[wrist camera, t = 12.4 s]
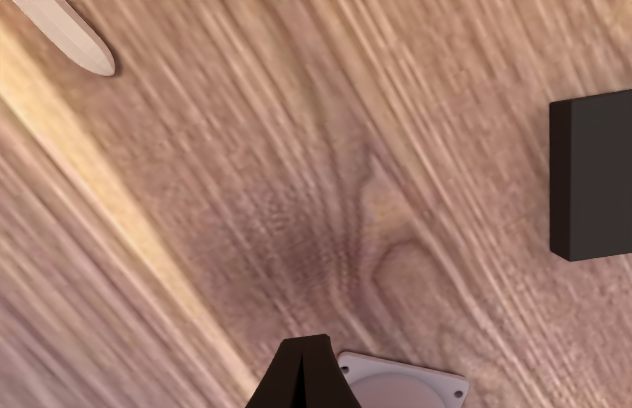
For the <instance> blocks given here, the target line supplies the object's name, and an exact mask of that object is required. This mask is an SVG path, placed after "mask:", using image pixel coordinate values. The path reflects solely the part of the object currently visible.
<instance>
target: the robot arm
mask: <svg viewBox="0 0 632 408" xmlns="http://www.w3.org/2000/svg"><path fill="white" fill-rule="evenodd" d="M343 366H346V367H348V368H346V369H341V367H343ZM468 390H469V383H468V381H467V379H466V378H465V377H463V376H459V375H454V374H450V373H445V372H440V371H436V370H431V369H427V368H422V367H417V366H413V365H408V364H403V363H399V362H394V361H390V360H385V359H380V358H376V357H371V356H366V355H362V354H357V353H353V352H342V353H341V354H340V355H339V356H338V359H337V360H336V358H335V355H334V353H333V350H332V347H331V342H330V337H329V336H328V335H326V334H320V335H312V336H305V337H297V338H290V339H284V340H283V341H282V342H281V344H280V346H279V348H278V350H277V352H276V354H275V356H274V358H273V360H272V362H271V364H270V366H269V368H268V370H267V372H266V373H265V375H264V377H263V379H262V380H261V382H260V384H259V385H258V387H257V389H256V391H255V392H254V394H253V396H252V397H251V399H250V401H249V402H248V404H247V405H246V407H245V408H461V406H462V404H463V402H464V399H465V397H466V394H467V392H468ZM456 391H459V392H457V393H455V392H456Z"/></svg>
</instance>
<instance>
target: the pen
mask: <svg viewBox="0 0 632 408" xmlns="http://www.w3.org/2000/svg"><path fill="white" fill-rule="evenodd" d="M12 1H13V2H14V3H15V4H16V5H17V6H18V7H19V8H20V9H21V10H22V11H23V12H24V13H25V14H26V15H27V16H28V17H29V18H30V19H31V20H32V21H33V22H34V23H35V24H36V26H37V27H38V28H39V29H40V30H41V31H42V32H43V33H44V34H45V35H46V36H47V37H48V38H49V39H50V40H51V41H52V42H53V43H54V44H55V45H56V46H57V47H58V48H60V49H61V50H62V51H63V52H64V53H65V54H66V55H67V56H68V57H69V58H70V59H71V60H73V61H74V62H75V63H77V64H78V65H80V66H81V67H83V68H85V69H86V70H88V71H90V72H92V73H94V74H97V75H101V76H111V75H114V72H115V63H114V59H113V56H112V54H111V52H110V50H109V49H108V47H107V46H106V45H105V43H104V42H103V41H102V40H101V38H100V37H99V36H98V35H97V34H96V33H95V32H94V31H93V30H92V29H91V28H90V27H89V26H88V24H87V23H86V22H85V21H84V20H83V19H82V18H81V17H80V16H79V15H78V14H77V13H76V12H75V11H74V10H73V8H72V7H71V6H70V5H69V4H68V3H67V2H66V1H65V0H12Z"/></svg>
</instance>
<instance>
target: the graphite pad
mask: <svg viewBox="0 0 632 408" xmlns="http://www.w3.org/2000/svg"><path fill="white" fill-rule="evenodd" d="M550 128H551V252H553V253H555V254H556V255H558V256H560V257H562V258H564V259H566V260H567V261H569V262H573V261H579V260H586V259H593V258H599V257H606V256H613V255H620V254H626V253H632V89H630V90H623V91H617V92H611V93H605V94H599V95H593V96H587V97H581V98H575V99H569V100H563V101H557V102H552V103H551V104H550Z"/></svg>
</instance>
